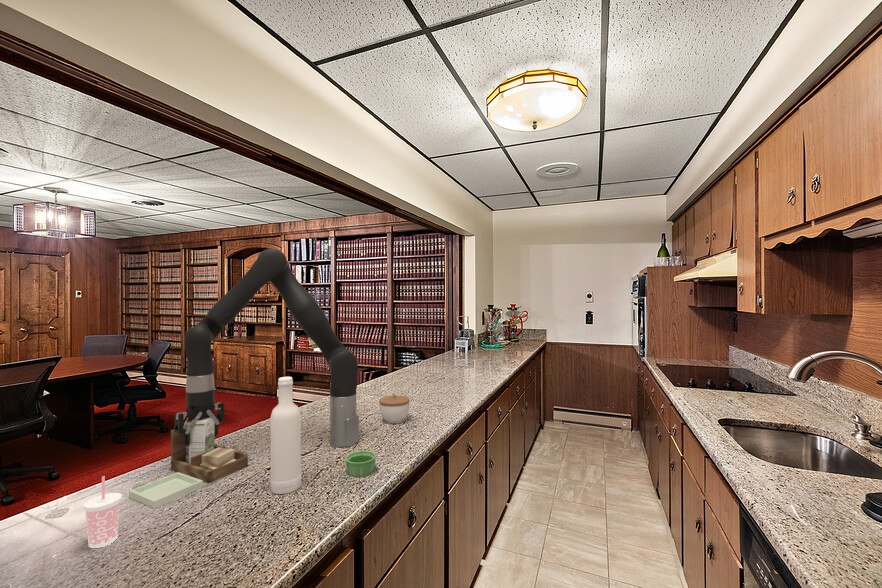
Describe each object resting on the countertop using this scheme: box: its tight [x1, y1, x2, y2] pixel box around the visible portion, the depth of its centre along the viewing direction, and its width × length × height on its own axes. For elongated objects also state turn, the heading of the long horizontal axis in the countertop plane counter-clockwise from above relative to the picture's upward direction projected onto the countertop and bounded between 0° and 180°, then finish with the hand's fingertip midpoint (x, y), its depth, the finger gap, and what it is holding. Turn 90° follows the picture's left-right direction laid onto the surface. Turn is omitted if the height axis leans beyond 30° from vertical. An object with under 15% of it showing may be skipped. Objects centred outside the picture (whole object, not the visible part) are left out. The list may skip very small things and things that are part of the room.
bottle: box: [269, 376, 302, 495], centre depth 104 cm, size 8×8×30 cm
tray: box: [128, 472, 204, 509], centre depth 102 cm, size 12×12×2 cm
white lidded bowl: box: [378, 394, 410, 424], centre depth 160 cm, size 13×13×11 cm
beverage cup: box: [83, 475, 123, 549], centre depth 81 cm, size 6×6×14 cm
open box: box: [170, 429, 249, 484], centre depth 117 cm, size 19×12×12 cm, turn 63°
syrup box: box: [186, 417, 215, 464], centre depth 119 cm, size 6×6×14 cm
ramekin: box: [344, 450, 377, 478], centre depth 114 cm, size 9×9×4 cm
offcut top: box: [202, 447, 235, 468], centre depth 115 cm, size 6×6×3 cm
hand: (200, 440), depth 119 cm, fingers closed on syrup box, 8 cm apart
